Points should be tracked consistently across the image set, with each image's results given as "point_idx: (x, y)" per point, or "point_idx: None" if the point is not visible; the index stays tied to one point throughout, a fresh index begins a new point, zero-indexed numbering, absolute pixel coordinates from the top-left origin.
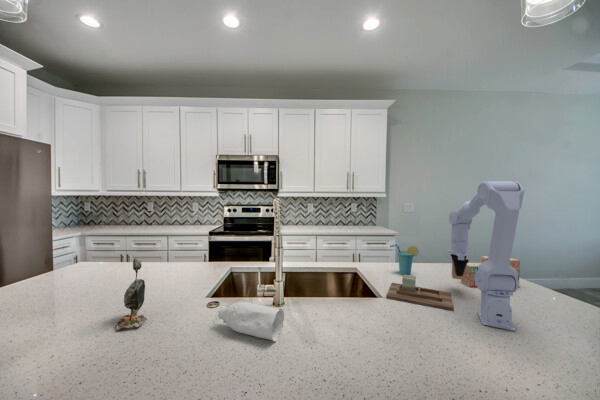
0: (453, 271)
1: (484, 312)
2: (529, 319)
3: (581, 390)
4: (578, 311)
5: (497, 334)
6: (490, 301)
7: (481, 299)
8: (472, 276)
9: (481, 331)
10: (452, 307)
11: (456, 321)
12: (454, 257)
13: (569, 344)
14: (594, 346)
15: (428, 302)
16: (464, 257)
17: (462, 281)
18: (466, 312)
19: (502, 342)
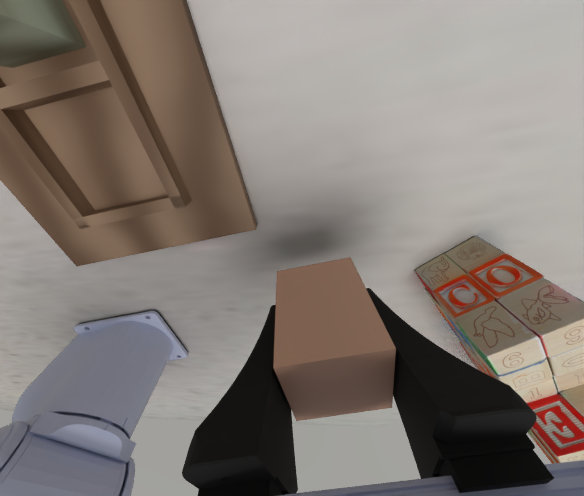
0: (277, 308)
1: (86, 347)
2: (225, 376)
3: (6, 407)
4: (348, 416)
5: (61, 345)
6: (13, 413)
7: (75, 374)
8: (447, 311)
9: (33, 324)
10: (79, 261)
11: (13, 276)
12: (251, 472)
13: (158, 405)
14: (186, 419)
15: (10, 173)
16: (418, 464)
17: (469, 246)
18: (123, 288)
19: (31, 352)
